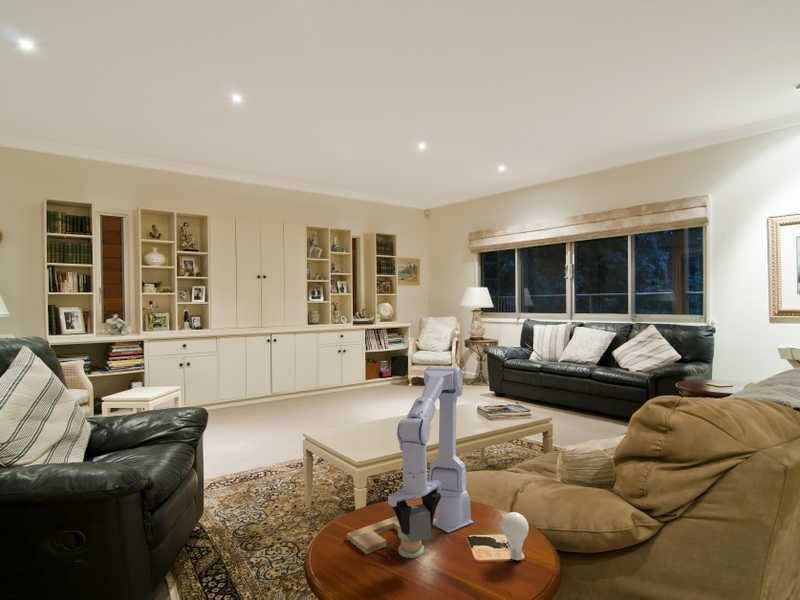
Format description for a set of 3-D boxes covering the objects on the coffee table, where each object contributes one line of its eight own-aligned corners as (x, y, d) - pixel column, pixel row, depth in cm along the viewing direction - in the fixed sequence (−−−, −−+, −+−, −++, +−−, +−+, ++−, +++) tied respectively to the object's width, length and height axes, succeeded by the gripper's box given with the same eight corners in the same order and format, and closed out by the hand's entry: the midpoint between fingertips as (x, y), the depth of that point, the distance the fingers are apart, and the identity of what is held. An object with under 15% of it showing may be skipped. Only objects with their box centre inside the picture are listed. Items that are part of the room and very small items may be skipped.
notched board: (404, 518, 135) (404, 513, 135) (426, 530, 127) (426, 525, 127) (347, 538, 124) (346, 533, 124) (366, 554, 116) (366, 548, 116)
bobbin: (413, 542, 121) (413, 522, 121) (429, 552, 116) (428, 531, 116) (393, 550, 117) (393, 530, 117) (408, 561, 112) (408, 540, 112)
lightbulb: (531, 568, 107) (529, 519, 107) (502, 566, 108) (500, 518, 109) (529, 553, 113) (527, 508, 113) (502, 552, 114) (500, 507, 115)
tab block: (424, 529, 112) (423, 503, 112) (431, 538, 107) (430, 512, 107) (404, 532, 110) (403, 506, 110) (410, 542, 105) (409, 515, 106)
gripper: (427, 458, 116) (429, 513, 116) (379, 472, 108) (381, 531, 107) (446, 465, 111) (448, 523, 110) (397, 481, 102) (399, 543, 102)
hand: (417, 528), depth 109 cm, fingers closed on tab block, 6 cm apart
